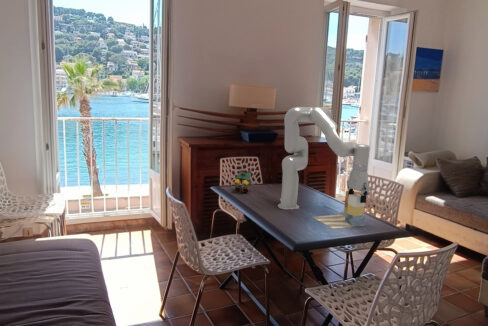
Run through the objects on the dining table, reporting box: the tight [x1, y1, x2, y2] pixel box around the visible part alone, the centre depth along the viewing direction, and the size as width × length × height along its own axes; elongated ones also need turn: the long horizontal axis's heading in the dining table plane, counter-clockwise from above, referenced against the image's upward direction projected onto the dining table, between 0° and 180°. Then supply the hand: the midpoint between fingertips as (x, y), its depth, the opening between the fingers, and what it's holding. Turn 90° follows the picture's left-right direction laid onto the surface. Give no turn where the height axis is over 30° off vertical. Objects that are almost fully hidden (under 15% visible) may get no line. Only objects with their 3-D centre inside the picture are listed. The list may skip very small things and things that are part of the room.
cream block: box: [348, 194, 366, 207], centre depth 202 cm, size 6×6×5 cm
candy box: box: [343, 189, 362, 216], centre depth 217 cm, size 9×4×15 cm, turn 75°
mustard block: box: [347, 204, 365, 216], centre depth 202 cm, size 6×6×5 cm
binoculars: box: [233, 169, 255, 194], centre depth 263 cm, size 14×14×15 cm
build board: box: [312, 213, 366, 229], centre depth 206 cm, size 19×20×6 cm
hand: (356, 200), depth 202 cm, fingers open, 9 cm apart
